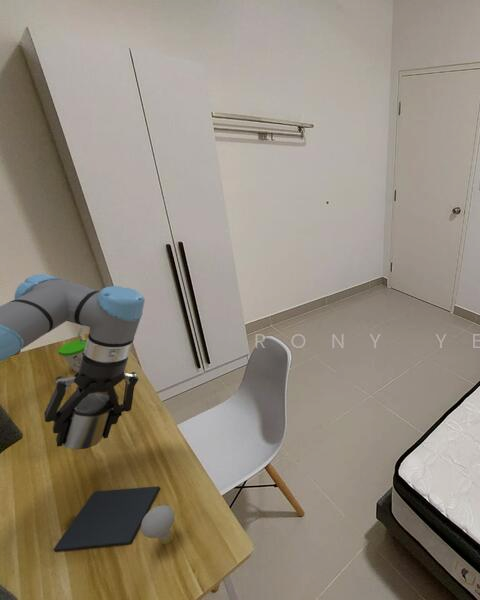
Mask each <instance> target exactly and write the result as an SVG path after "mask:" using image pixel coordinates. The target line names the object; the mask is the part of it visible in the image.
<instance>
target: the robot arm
mask: <svg viewBox="0 0 480 600" xmlns="http://www.w3.org/2000/svg"><path fill="white" fill-rule="evenodd" d="M144 306H145V297H144V295H143V294H142V293H141V292H139V291H138V290H135V289H133V288H130V287H123V286H119V285H118V286H117V285H112V286H106V287H104V288H101V290H98V289H97V290H96V289H94V288H91V287H88V286H85V285H82V284H79V283H76V282H74V281H71V280H69V279H67V278H61V277H57V276H53V275H50V274H46V273H36V274H32V275H30V276H28V277H27V278H25V280H24V282H20V284H18V286H17V287H16V290H15V293H14V299H13V300H9V302H7V303H4V304H2V305H0V363H1V362H4V361H5V360H7V359H9V358H11V357H13V356H15V355H17V354H19V352H21V350H23V349H24V348H26V347H27V346H29V345H31V344H32V343H34V342H35V341H37V340H38V339H40V338H41V337H43V336H45V335H46V334H48V333H50V332H52V331H53V330H54V329H56V328H59V326H61V325H62V324H64V323H66V322H69V323H73V324H77V325H80V326H84V327H88V328H89V330H88V335H87V338H86V340H87V342H86V346H85V350H84V354H83V357H82V361H81V364H80V368H79V371H78V372H76V373H74V375H73V376H70V377H69V376H68V377H64V376H63V375H60V376H57V377H56V378H55V385H56V386H55V389H54V390H53V393H52V395H51V398H50V399H49V402H48V403H47V406H46V408H45V410H44V415H43V416H44V423H50V422H53V424H52V432H53V434H56V438H55V439H56V446H57V447H58V448H59V447H63V441H64V437H65V433H66V430H67V426H68V423H69V422H68V416H69V415H70V413H71V409H75V408H76V406H77V405H78V404H79V403H80V402H81V401H82V399H83V398H86V397H87V395H88V394H89V393H95V392H108V395H109V398H110V401H111V404H112V405H113V404H114V407H113V408H112V409H111V411H110V415H109V418H108V421H107V425H106V428H105V431H104V434H103V438H102V439H108V438H109V435H110V431H111V429H112V426H113V425H117V423H118V422H119V418H120V417H122V415H123V412H128V413H129V412H130V411H131V410H132V406H133V399H134V392H135V386H136V384H137V383H138V382H139V377H138V374H137V372H135V371H132V372H130V373H125V371H126V367H127V364H128V360H129V356H130V354H131V350H132V346H133V344H134V339H135V336H136V333H137V331H138V328H139V324H140V321H141V318H142V316H143V310H144ZM123 380H124V383H125V385H124V393H123V401H122V403H121V404H120V403H119V400H118V399H119V398H118V399H117V396H116V393H117V392H116V393H115V391H116V389H115V387H116V386H117V385H119V384H120V383H121V382H123ZM73 384H75V385H77V387H76V389H75V390H74V391H73V392H72V394H71V395H70V396H69V397H68V399H67V400H66V401H65V402H64V403H63V404H62V402H63V400H64V397H65V395H66V392H67V390H69V388H70V387H71V386H72V385H73ZM114 389H115V390H114ZM60 406H61V407H60Z"/></svg>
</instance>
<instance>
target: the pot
mask: <svg viewBox="0 0 480 600" xmlns="http://www.w3.org/2000/svg"><path fill="white" fill-rule="evenodd" d="M113 407H114V404H113V405H112V404H111V401H110V398H109V395H107V394H103V393H89V394H88V395H87V397H86V398H83V399H82V401H81V402H80V403H79V404H78V405H77V406H76V408H75V409H71V413H70V415H69V416H68V422H69V423H68V426H67V430H66V433H65V437H64V441H63V444H62V446H63V447H65V448H67V449H70V450H85V449H90V448H92V447H94V446H96V445H98V444H99V443H100V442H101V441H102V440H103V439H104V438H103V434H104V431H105V428H106V425H107V421H108V418H109V415H110V411H111V409H113Z"/></svg>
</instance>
